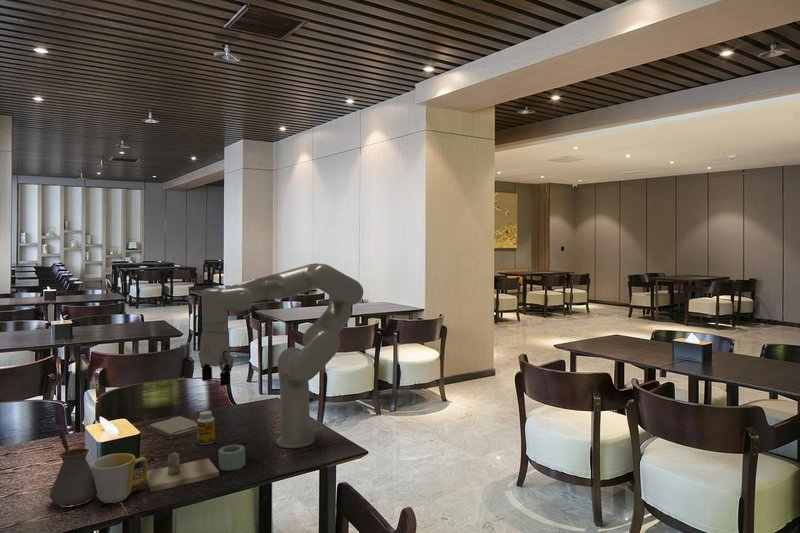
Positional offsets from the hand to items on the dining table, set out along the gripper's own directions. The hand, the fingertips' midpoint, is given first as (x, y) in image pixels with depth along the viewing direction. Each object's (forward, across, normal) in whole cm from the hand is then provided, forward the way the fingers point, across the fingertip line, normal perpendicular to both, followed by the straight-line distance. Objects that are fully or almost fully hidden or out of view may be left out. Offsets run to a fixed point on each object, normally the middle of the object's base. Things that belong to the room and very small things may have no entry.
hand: (216, 382), depth 177 cm
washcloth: (+24, -35, +6) cm, 43 cm away
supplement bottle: (+24, -15, +5) cm, 28 cm away
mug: (+24, +4, -32) cm, 40 cm away
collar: (+24, +10, -1) cm, 25 cm away
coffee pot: (+24, -8, -39) cm, 47 cm away
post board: (+24, +5, -15) cm, 28 cm away
